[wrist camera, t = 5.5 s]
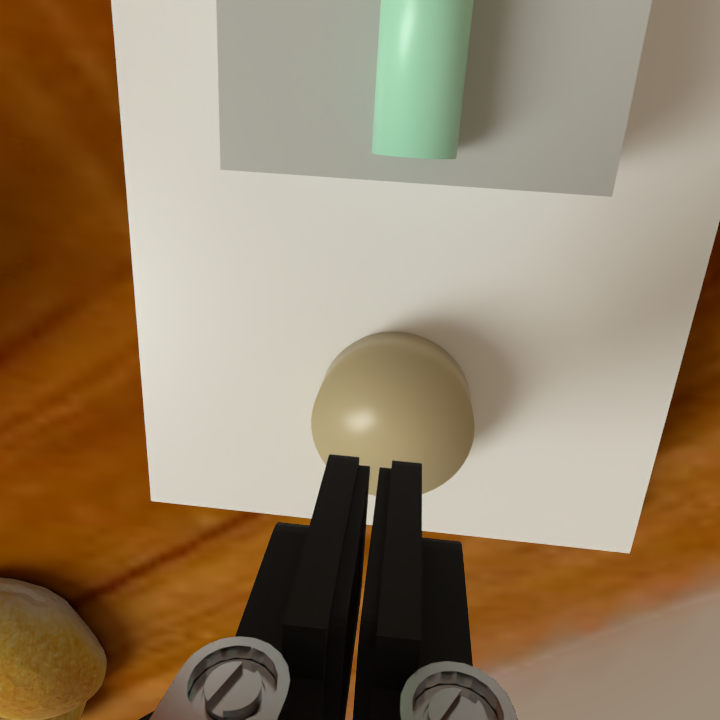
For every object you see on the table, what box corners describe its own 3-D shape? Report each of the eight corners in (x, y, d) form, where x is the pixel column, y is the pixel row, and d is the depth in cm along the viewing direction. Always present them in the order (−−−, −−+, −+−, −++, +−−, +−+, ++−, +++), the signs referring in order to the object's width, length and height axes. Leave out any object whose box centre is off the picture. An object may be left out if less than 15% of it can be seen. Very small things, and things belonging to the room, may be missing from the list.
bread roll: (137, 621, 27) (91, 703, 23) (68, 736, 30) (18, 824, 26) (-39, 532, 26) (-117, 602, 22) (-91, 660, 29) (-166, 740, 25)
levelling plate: (107, -387, 12) (-170, -831, 6) (851, -384, 11) (1290, -905, 5) (166, 479, 19) (61, 625, 14) (617, 527, 18) (702, 706, 13)
